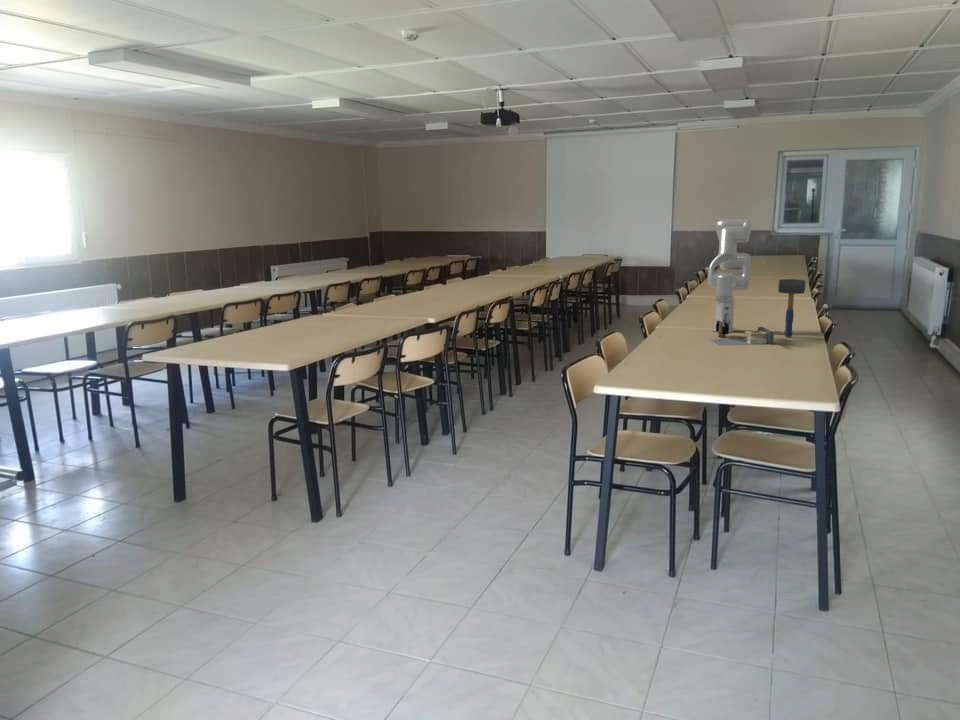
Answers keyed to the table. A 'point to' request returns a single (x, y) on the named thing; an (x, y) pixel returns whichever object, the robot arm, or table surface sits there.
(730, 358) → the table surface
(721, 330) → the dowel
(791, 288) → the rubber mallet
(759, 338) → the socket block
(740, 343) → the jig board
